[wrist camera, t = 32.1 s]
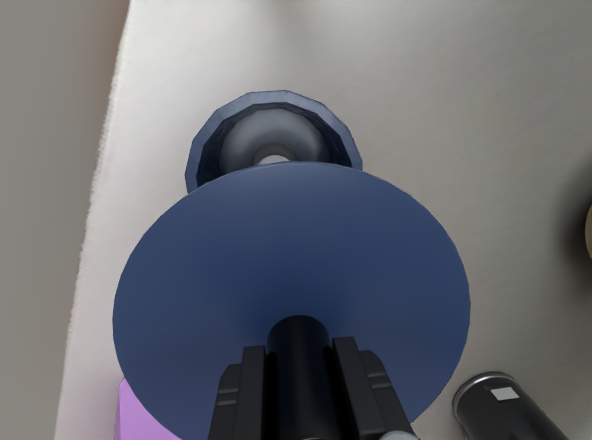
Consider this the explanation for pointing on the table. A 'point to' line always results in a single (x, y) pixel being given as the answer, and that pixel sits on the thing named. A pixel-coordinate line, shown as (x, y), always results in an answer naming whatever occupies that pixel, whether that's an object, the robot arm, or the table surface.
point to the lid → (289, 297)
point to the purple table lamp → (136, 419)
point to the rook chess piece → (273, 154)
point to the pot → (268, 135)
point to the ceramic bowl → (589, 231)
